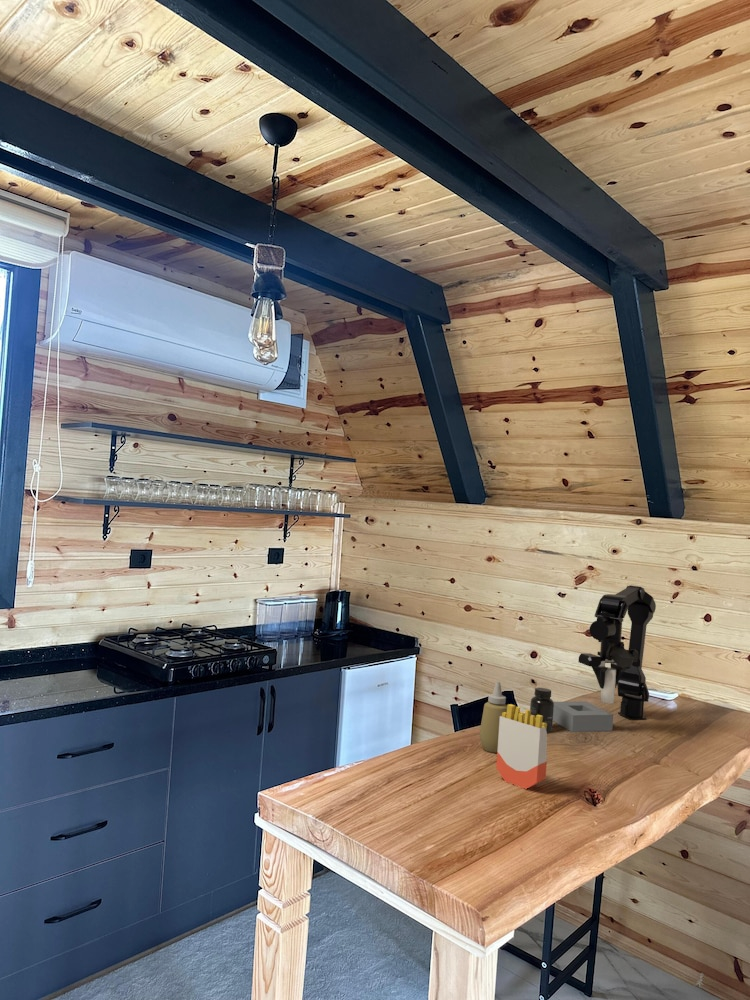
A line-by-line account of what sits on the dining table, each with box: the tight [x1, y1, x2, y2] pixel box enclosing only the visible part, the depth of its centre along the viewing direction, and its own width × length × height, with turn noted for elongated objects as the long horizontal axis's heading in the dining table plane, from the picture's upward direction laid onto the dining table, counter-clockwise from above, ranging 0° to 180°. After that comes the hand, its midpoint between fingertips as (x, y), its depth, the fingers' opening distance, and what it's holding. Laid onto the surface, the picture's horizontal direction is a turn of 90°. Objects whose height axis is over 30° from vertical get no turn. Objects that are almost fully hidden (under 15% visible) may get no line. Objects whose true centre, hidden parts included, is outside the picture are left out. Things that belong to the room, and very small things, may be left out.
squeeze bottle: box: [479, 681, 508, 754], centre depth 183 cm, size 8×8×18 cm
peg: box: [600, 666, 616, 704], centre depth 207 cm, size 4×4×10 cm
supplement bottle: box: [529, 687, 555, 734], centre depth 204 cm, size 7×7×12 cm
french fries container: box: [495, 703, 548, 790], centre depth 160 cm, size 5×11×18 cm, turn 47°
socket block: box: [553, 700, 614, 733], centre depth 212 cm, size 14×14×5 cm
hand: (607, 688), depth 207 cm, fingers closed on peg, 4 cm apart
